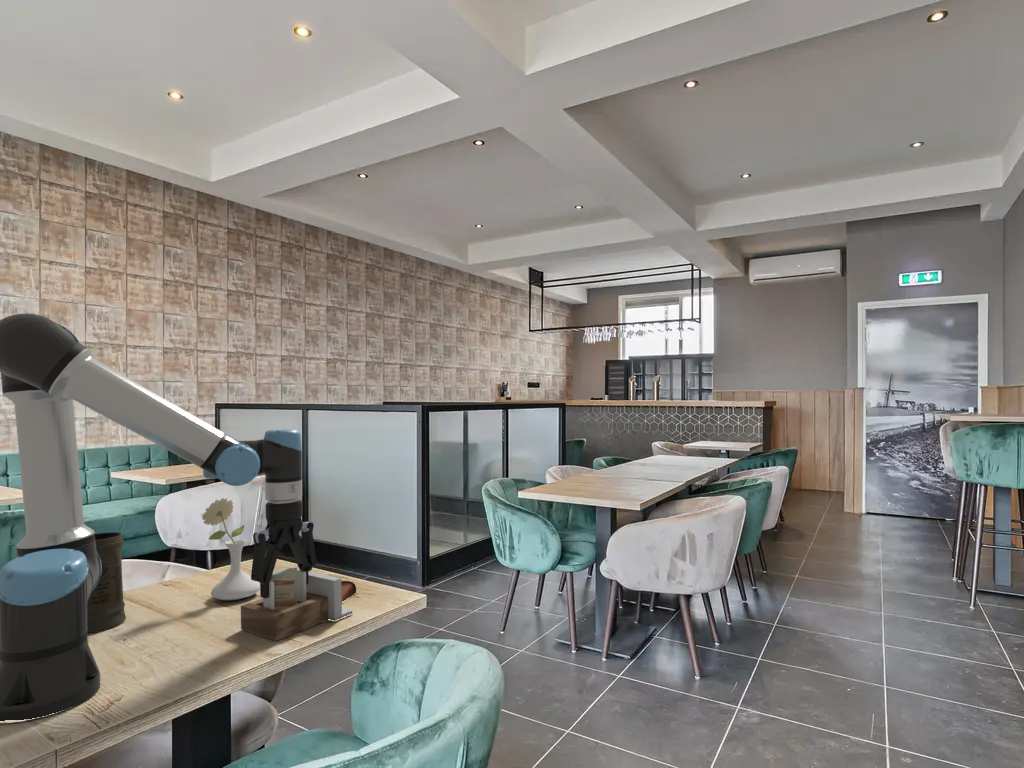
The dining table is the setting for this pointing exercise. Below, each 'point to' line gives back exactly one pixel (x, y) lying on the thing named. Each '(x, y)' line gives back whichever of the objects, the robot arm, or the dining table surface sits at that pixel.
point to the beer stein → (107, 585)
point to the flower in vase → (236, 580)
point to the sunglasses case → (347, 589)
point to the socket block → (284, 617)
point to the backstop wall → (328, 593)
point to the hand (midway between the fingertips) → (285, 606)
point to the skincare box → (284, 588)
